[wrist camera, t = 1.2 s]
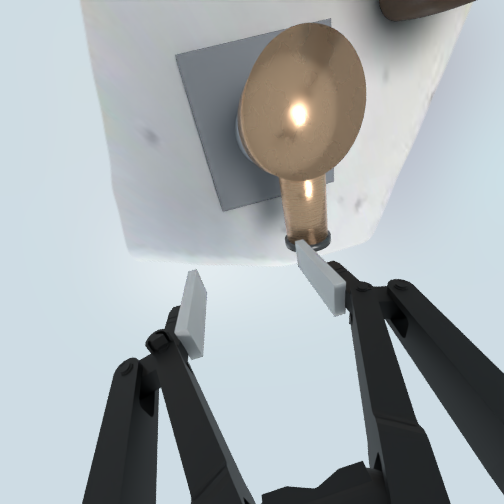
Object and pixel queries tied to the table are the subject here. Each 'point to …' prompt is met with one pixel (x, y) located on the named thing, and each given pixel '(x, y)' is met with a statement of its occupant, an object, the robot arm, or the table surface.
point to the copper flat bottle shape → (303, 120)
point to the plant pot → (417, 8)
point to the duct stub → (228, 117)
